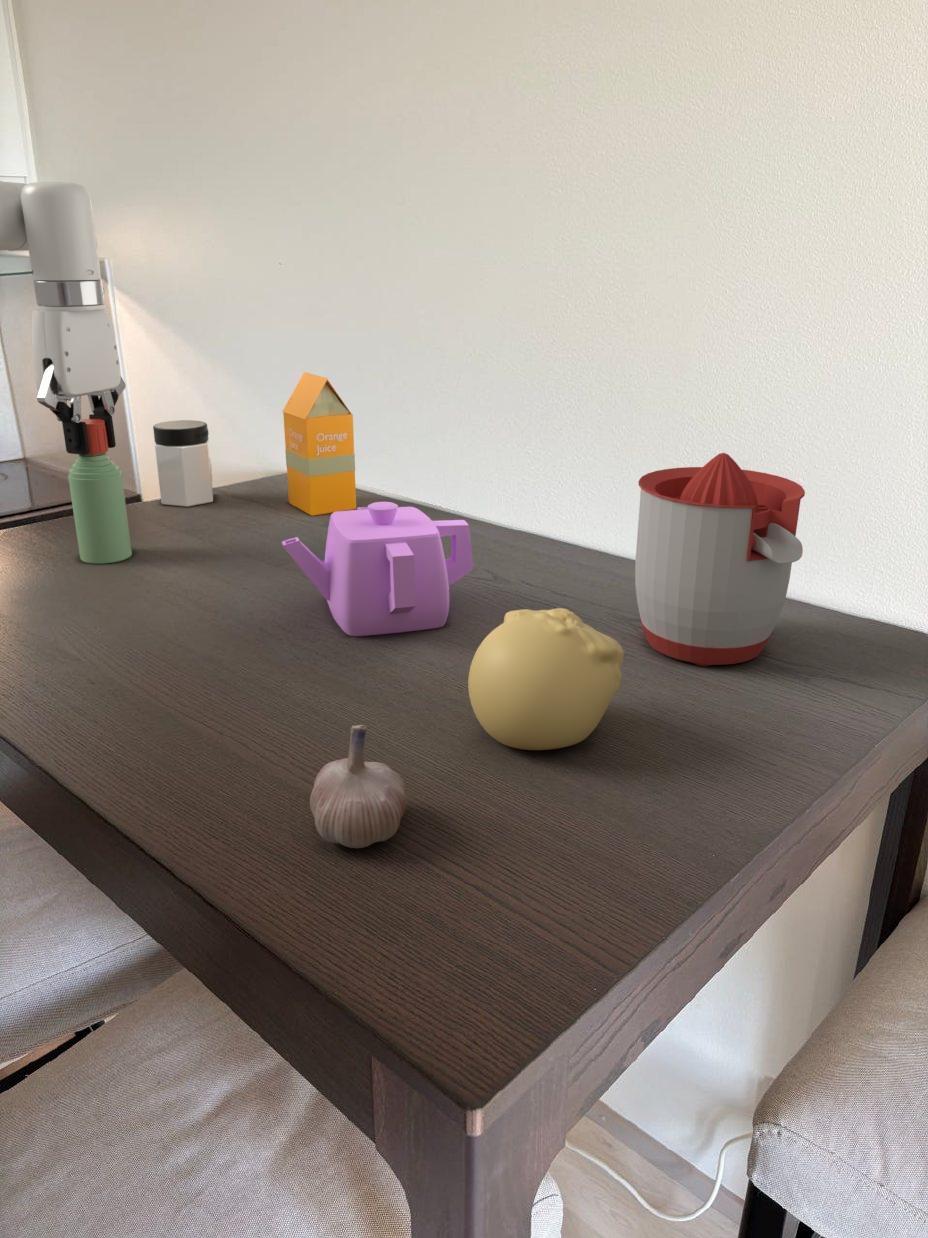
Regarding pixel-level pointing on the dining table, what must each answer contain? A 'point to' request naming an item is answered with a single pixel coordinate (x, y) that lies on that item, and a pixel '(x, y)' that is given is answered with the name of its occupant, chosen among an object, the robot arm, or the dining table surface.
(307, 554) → the teakettle
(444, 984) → the dining table surface
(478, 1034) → the dining table surface
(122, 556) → the bottle
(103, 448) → the cap
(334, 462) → the orange juice
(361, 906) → the dining table surface
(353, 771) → the garlic bulb
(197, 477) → the jar
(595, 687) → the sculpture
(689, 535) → the citrus juicer
